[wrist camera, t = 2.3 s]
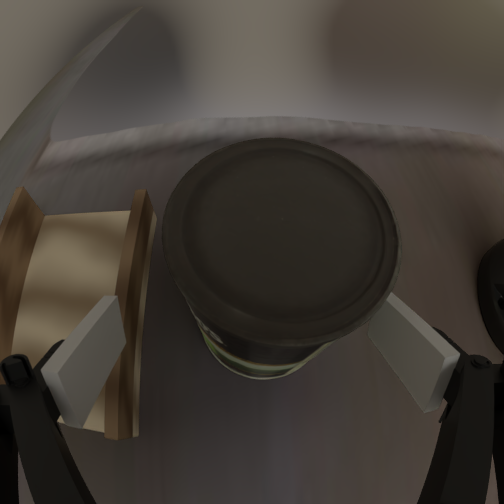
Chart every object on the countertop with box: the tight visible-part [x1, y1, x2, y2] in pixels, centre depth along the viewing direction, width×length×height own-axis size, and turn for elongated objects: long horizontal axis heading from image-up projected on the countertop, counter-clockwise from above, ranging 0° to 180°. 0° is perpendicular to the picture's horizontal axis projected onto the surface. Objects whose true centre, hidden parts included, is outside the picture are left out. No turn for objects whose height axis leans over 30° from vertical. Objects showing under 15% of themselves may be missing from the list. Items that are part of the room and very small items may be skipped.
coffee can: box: [162, 138, 402, 379], centre depth 19 cm, size 10×10×14 cm
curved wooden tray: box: [0, 187, 157, 440], centre depth 21 cm, size 20×14×6 cm
